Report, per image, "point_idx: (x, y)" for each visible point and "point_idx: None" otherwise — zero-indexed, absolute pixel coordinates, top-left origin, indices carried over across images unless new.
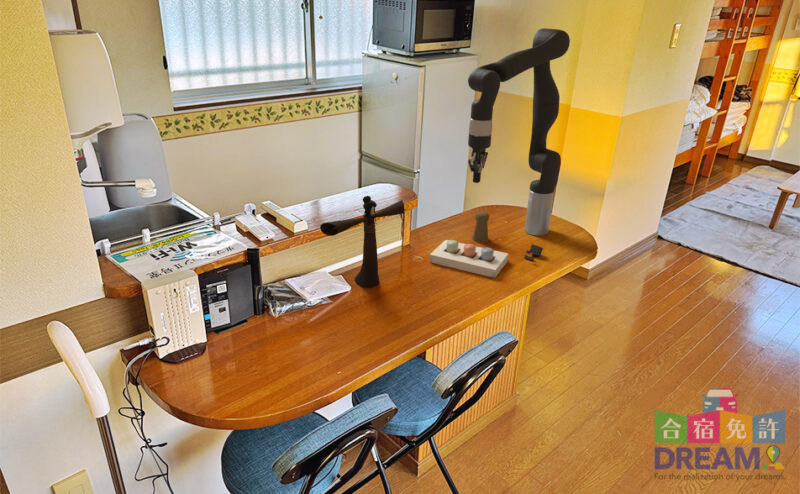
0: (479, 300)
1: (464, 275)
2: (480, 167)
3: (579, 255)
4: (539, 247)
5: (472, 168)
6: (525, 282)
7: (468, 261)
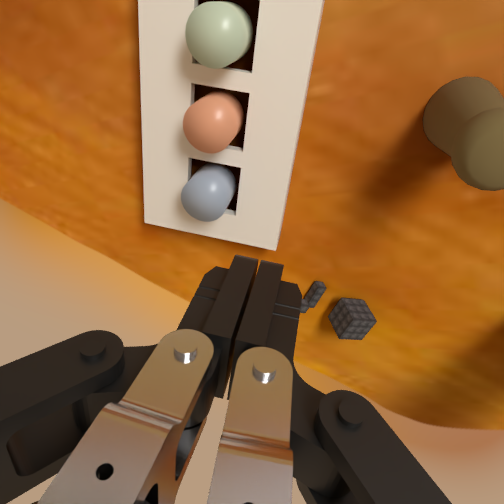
0: (23, 186)
1: (124, 118)
2: (180, 467)
3: (380, 399)
4: (338, 336)
5: (67, 384)
6: (172, 284)
7: (156, 128)
